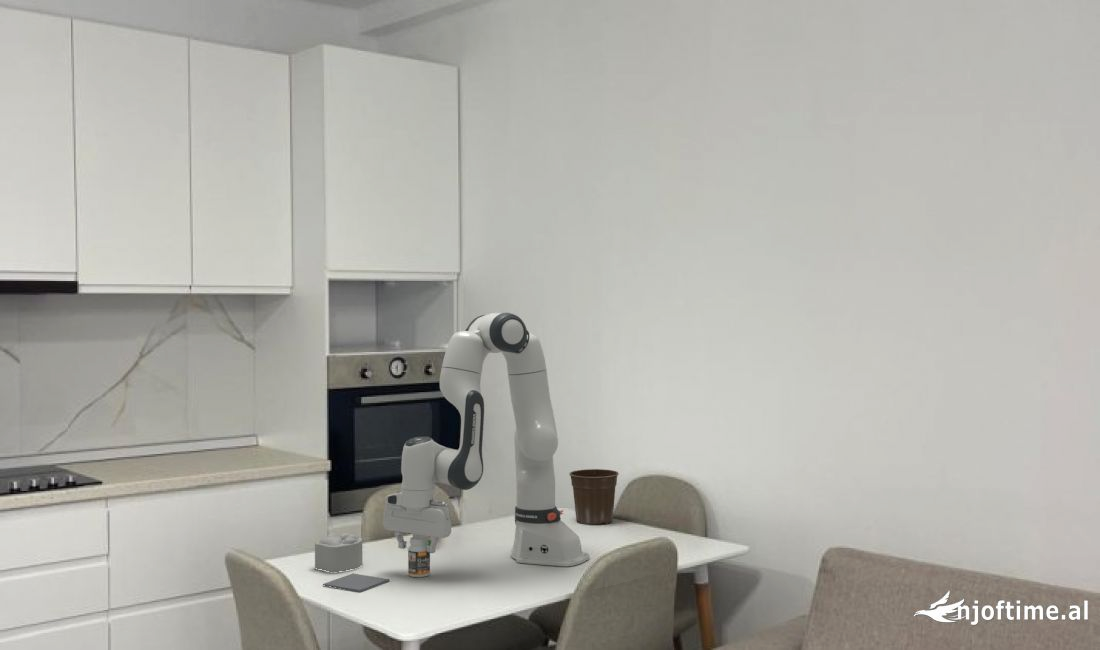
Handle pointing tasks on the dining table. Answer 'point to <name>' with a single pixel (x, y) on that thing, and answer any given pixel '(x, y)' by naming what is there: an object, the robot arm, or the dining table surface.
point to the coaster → (356, 582)
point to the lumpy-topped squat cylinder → (338, 552)
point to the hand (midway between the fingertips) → (416, 550)
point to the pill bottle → (418, 557)
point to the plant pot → (594, 495)
